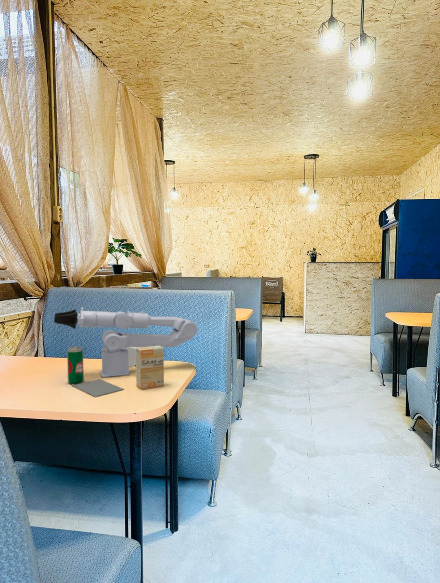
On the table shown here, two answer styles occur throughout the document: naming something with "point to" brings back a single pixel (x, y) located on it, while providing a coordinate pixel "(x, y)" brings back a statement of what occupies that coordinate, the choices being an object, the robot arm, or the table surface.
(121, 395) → the table surface
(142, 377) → the supplement box
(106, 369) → the robot arm
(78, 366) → the soda can
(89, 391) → the mat
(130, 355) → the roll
